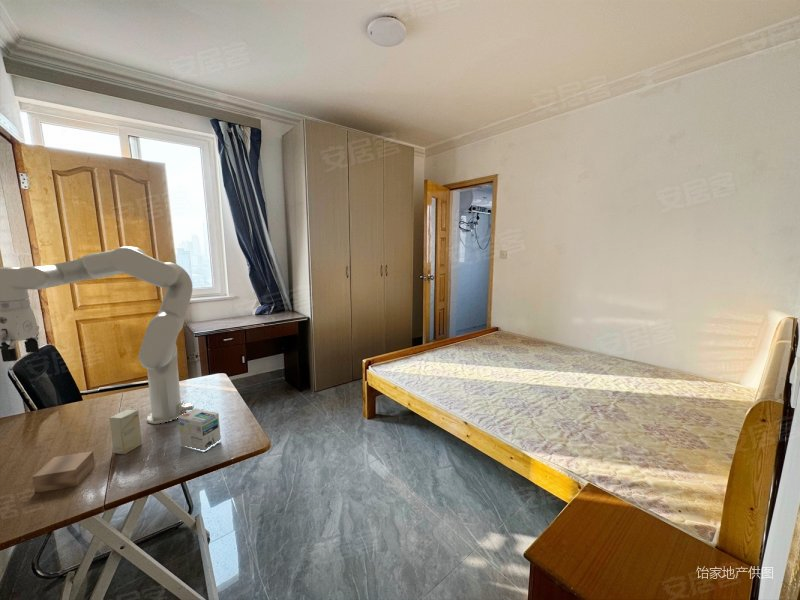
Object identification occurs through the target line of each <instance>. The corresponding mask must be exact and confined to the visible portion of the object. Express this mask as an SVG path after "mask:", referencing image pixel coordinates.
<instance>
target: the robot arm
mask: <svg viewBox="0 0 800 600" xmlns="http://www.w3.org/2000/svg"><path fill="white" fill-rule="evenodd" d="M120 274H126V275H129V277H133V278H135V279H138V280H140V281H143V282H145V283H148V284H150V285H153V286H155V287H160V288H165V292H164V295H163V297H162V300H161V301H162V302H161V305H160V308H159V309H158V313H157V314H156V315H155V316H153V317H152V318H151V320H150V321H149V322H148V324H147V327H146V330H145V333H144V337H143V339H142V341H141V342H142V343H141V345H140V349H139V352H138V356H137V357H138V361H139V363H140V365H141V366H142V367H143V368H145V369H147V370H146V371H147V382H148V391H149V402H150V411H151V413H149V414H148V415H147V417H146V421H147V423H149V424H153V425H157V424H158V425H159V424H160V423H161V424H166V423H165V422H167V423H169V422H168V421H170V420H173V419H176V418H177V417H179V416H181V415H182V414H184V413H185V411H186V412H187V411H192V410H194V409H195V408H194V407H195V406H194V404H192V402H190V403H184V400H183V399H182V398H181V390H180V377H179V365H178V364H179V363H178V355H179V354H178V346H177V340H178V337H179V334H180V332H181V331H182V329H183V328H184V324H185V319H186V315H187V314H188V309H189V305H190V303H191V298H192V295H193V281H192V279H191V276H190V275H189V273H188V272H187V271H186V270H185V269H184V267H182V266H181V265H179V264H177V263H174V262H170V261H167V262H165V261H164V262H163V261H161V260H158V259H155V258H153V257H151V256H149V255H148V254H146V252H145V251H144V250H143V249H141V248H139V247H136V246H120V247H117V248H114V249H112V250H111V249H110V250H106V251H101V252H96V253H95V252H94V253H89V254H85V255H83V256H82V257H80V258H77V259H72V260H69V261H64V262H58V263H54V264H53V263H52V264H48V265H45V264H44V265H35V266H25V267H24V266H23V267H17V266H4V267H1V266H0V354H1V358H2V362H3V363H6V362H16V361H17V360H18V356H17V351H16V348H14V346H15V344H16V342H22V341H23V343H24V347H25V348H24V349H25V352H26V353H27V354H29V353H30V354H31V353H37V352H40V348H39V342H38V340H39V337H38V336H39V334H40V333H39V329H40V327H39V325H38V323H37V319H36V316H35V313H34V310H33V307H31V302H30V298H29V297H30V296H29V291H28V290H35V291H36V290H37V291H38V290H43V289H49V288H56V287H59V286H64V285H69V284H73V283H78V282H83V281H88V280H97V279H102V278H107V277H113V276H117V275H120ZM24 340H25V341H24ZM181 399H182V400H181ZM176 420H177V419H176Z"/></svg>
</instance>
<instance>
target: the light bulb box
mask: <svg viewBox="0 0 800 600" xmlns="http://www.w3.org/2000/svg"><path fill="white" fill-rule="evenodd" d="M177 420H178V426H179V427H178V428H179V430H178V431H179V438H180V446H181V445H182V446H187V447H192V448H196V449H200V450H206V449H207V448H208V447H210V446H211V445H213V444H215V443H216V442H217V441H219V440H220V439H222V438H221V428H220V426H221V425H220V415H219V413H218V412H215V411H214V412H213V411H208V410H203V409H198V408H193V410H188V411H186V413H185V414H183V415H181V416H179V417H178V419H177Z"/></svg>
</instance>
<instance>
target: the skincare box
mask: <svg viewBox="0 0 800 600" xmlns="http://www.w3.org/2000/svg"><path fill="white" fill-rule="evenodd" d="M109 424H110V425H109V426H110V433H111V442H112V451H113V454H120V455H126V454H128V453H129V452H131V451H133V450H134V449H136V448H138V447H139V446H141V445H143V442H142V441H143V440H142V433H141V425H140V415H139V409H130V408H127V409H125V410H123V411H120V412H118V413H116V414H114V415H112V416H109Z"/></svg>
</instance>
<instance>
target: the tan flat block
mask: <svg viewBox="0 0 800 600" xmlns="http://www.w3.org/2000/svg"><path fill="white" fill-rule="evenodd" d="M94 455H95V454H94V451H86V452H79V453H72V454H64V455H60V456H59V455H58V456H54V457H53V458H51V459H50V460H49V461H48V462H47V463H46V464H45V465H44V466H43V467H41V468H40V469H39V470H38V471H36V472H35V474H34V475H33V476H32V484H33V489H34V493H35V492H38V493H43V492H49V491H53V490H54V491H55V490H60V489H65V488H72V487H77V486H79V485H80V483H82V482H83V480H84V479H85V478H86V477H87V475H88V474H89V473H90V472H91V471H92V470H93V469H94V468H95V467H96V463H95V457H94Z"/></svg>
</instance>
